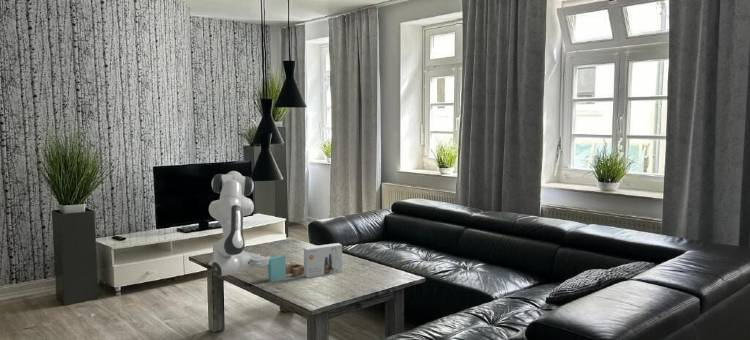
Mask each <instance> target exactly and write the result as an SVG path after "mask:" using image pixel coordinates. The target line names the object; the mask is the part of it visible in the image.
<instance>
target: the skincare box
mask: <svg viewBox="0 0 750 340" xmlns="http://www.w3.org/2000/svg"><path fill="white" fill-rule="evenodd" d="M302 249H303V265H304V275H303V276H304V277H306V279H307V278H315V277H321V276H327V275H333V274H340V273H339V272H341V273H342V272H343V244H341V243H339V242H337V243H329V244H321V245H312V246H306V247H303V248H302Z"/></svg>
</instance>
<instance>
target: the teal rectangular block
mask: <svg viewBox="0 0 750 340" xmlns="http://www.w3.org/2000/svg"><path fill="white" fill-rule="evenodd" d="M286 263H287V261H286V255H285V254H279V255H277V256H273V257H272V256H271V259H270V260H269V264H268V265H267V269H268V270H267V271H268V272H267V278H268V282H271V283H272V282H275V281H278V280H281V279H282V280H283V279H285V278H287V274H286V265H287V264H286Z"/></svg>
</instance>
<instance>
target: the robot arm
mask: <svg viewBox="0 0 750 340" xmlns="http://www.w3.org/2000/svg"><path fill="white" fill-rule="evenodd" d="M211 188H212V191H213V192H214V193H215V194H216V193H217V194H220V195H219V199H217V200H212V201H211V202H210V204H209V206H208V212H209V215H210V216H211V217H212V218H213V219H215V220H216V221H217V222H218V223H219V224H220V226H221V229H222V236H223V237H222V238H221V239H219V240H217V241H216V242H214V243H213V246H212V252H213V254H212V257H211V260H209V262H208V266H211V269H212V271H213V273H214V274H216V275H217V276H219V277H223V276H230V275H233V274H235V273H238V272H243V271H248V270H249V269H250V267H251V266H252V267H256V268H260V267H264V266H268V264H269V260H270V259H271V258H272V256H271V255H266V256H264V255H260V252H249V251H245V245H246V243H245V242H246V241H245V238H244V233H243V232H244V227H243V226H244V217H246V216H249V215H252V213H253V212H254V207H255V205H254V201H253V200H252V199H251V198H248V196H250V195H251V194H252V193H253V191H254V188H255V185H254V180H253V178H252V177H249V176H244V175H242V174H241V173H240V172H238V171H236V170H231V171H229V172H228V173H226V174H223V173H218V174H214V176H213V178H212V179H211Z"/></svg>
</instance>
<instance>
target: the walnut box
mask: <svg viewBox="0 0 750 340" xmlns="http://www.w3.org/2000/svg"><path fill="white" fill-rule="evenodd" d="M290 274H292V276H293V277H300V276H304V264H299V263H294V262H293V263H290V264H286V275H290Z"/></svg>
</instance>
